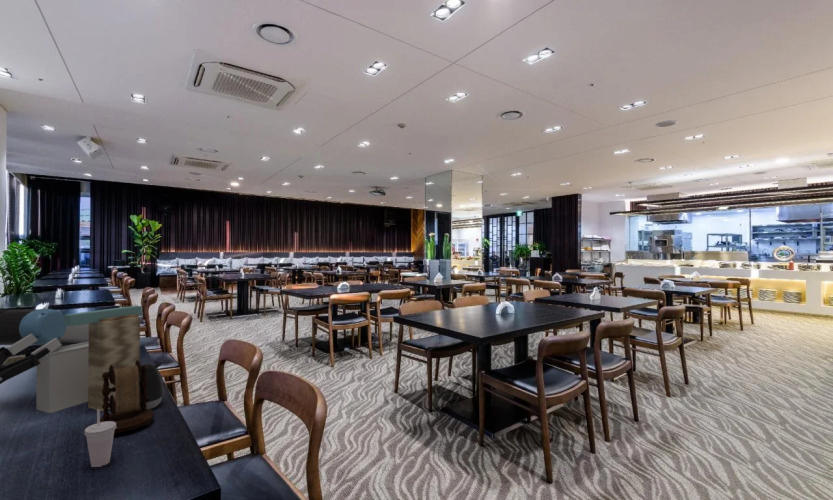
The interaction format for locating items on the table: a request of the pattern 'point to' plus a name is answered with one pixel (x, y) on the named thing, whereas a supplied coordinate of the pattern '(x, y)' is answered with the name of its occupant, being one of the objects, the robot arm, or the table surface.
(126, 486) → the table surface
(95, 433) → the smoothie
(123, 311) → the teal block
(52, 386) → the block
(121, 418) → the scroll
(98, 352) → the brown tall block
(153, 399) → the pump dispenser
